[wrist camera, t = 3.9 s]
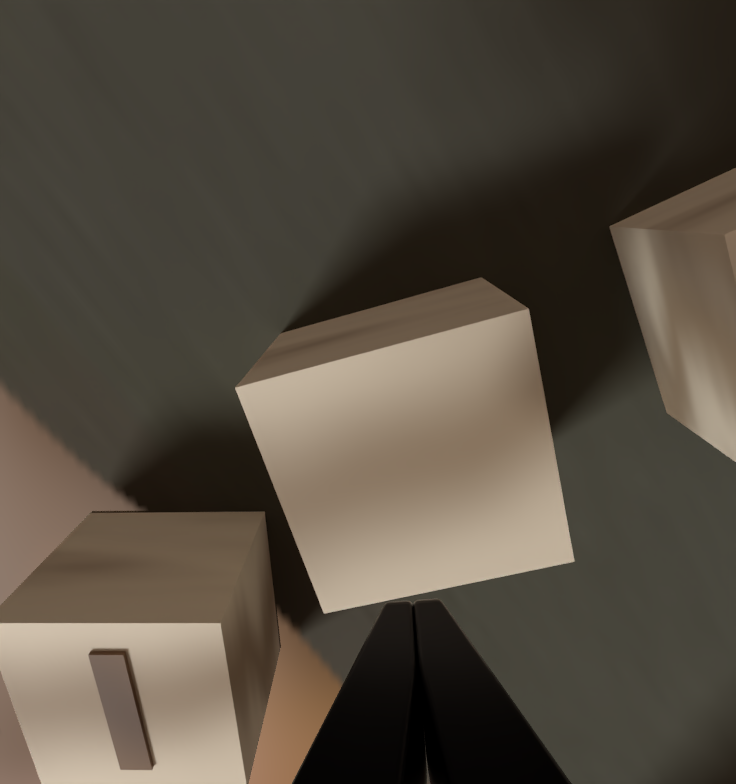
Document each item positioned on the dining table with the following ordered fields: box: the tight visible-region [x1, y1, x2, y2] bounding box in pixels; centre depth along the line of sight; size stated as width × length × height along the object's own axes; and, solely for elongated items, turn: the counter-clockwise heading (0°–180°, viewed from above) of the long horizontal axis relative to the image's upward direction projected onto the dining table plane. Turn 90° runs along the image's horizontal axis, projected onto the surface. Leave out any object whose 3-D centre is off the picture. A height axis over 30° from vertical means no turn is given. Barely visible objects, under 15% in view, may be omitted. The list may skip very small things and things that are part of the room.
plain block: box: [235, 277, 574, 614], centre depth 13 cm, size 6×6×5 cm
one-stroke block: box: [0, 511, 281, 784], centre depth 16 cm, size 6×6×5 cm
